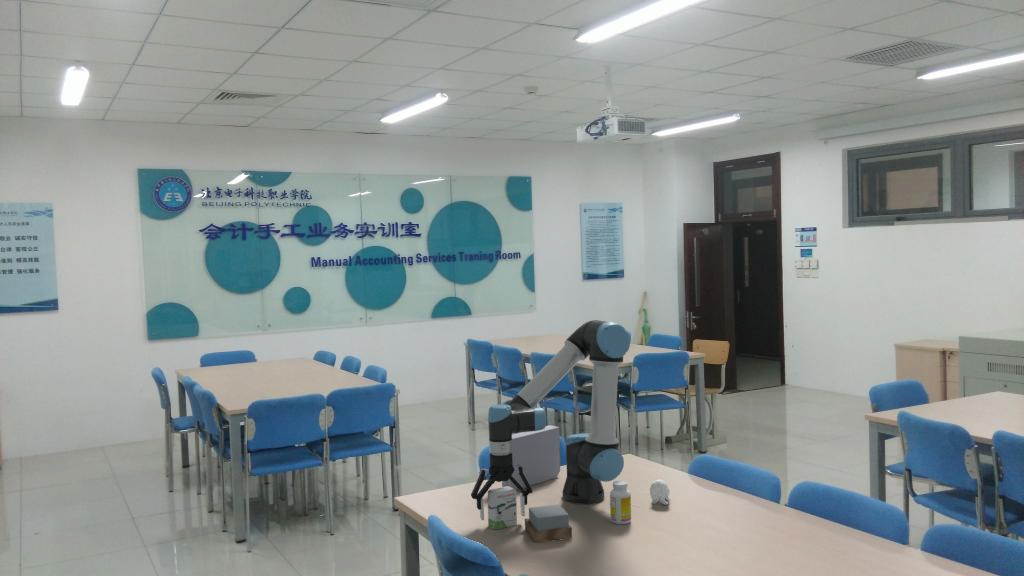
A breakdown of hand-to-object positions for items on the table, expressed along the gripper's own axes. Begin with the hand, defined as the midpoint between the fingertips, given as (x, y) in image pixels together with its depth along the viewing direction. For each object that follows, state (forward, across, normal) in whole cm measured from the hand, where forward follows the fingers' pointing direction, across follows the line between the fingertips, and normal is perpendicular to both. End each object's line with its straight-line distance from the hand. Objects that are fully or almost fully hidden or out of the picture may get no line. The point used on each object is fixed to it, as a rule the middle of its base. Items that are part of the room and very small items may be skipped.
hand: (502, 516), depth 249 cm
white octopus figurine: (+3, +59, +7) cm, 59 cm away
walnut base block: (+3, +12, -12) cm, 17 cm away
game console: (+3, +20, +42) cm, 47 cm away
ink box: (+3, 0, 0) cm, 3 cm away
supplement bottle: (+3, +38, -8) cm, 39 cm away
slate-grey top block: (-1, +12, -12) cm, 17 cm away
